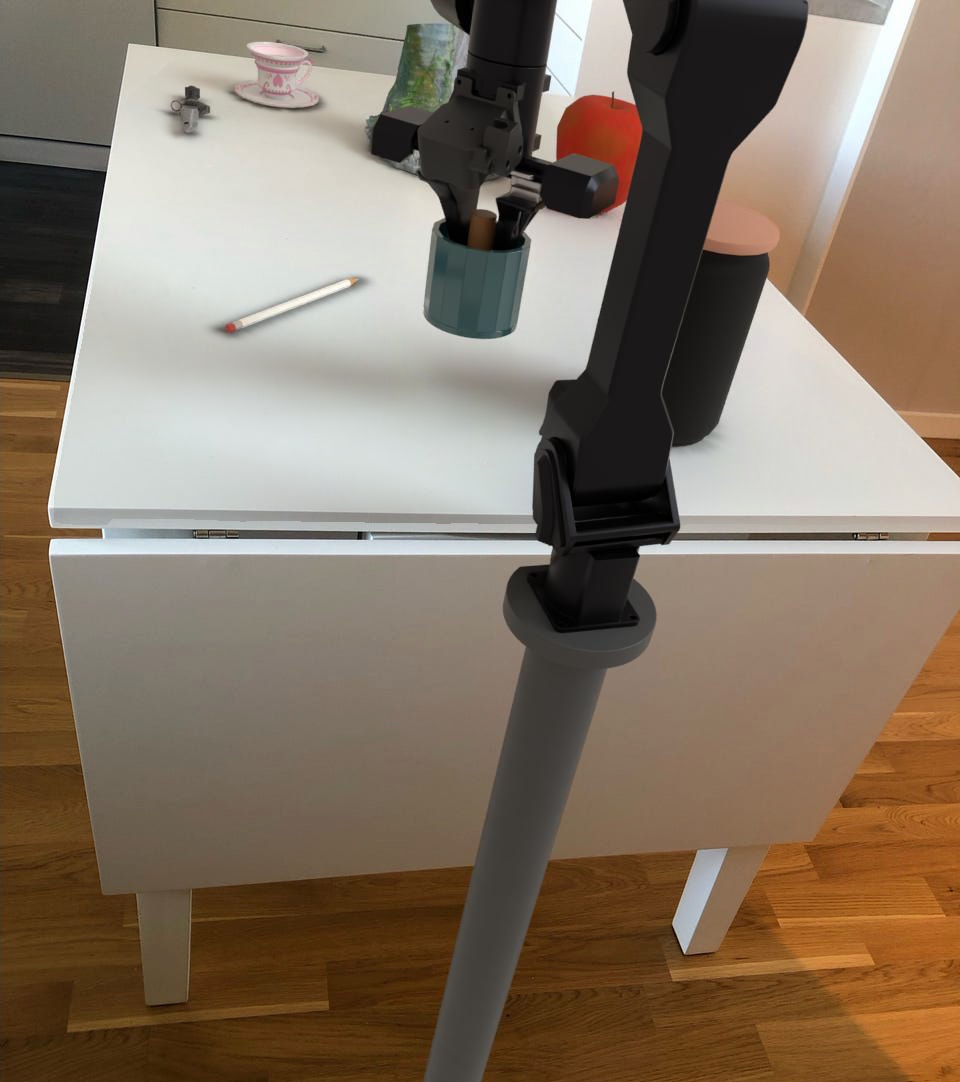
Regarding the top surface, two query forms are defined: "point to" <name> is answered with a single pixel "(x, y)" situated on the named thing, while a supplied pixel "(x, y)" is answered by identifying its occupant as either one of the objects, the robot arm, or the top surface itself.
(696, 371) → the coffee jar
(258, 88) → the teacup
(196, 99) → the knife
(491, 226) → the tan wooden dowel
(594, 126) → the apple
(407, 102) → the tree stump
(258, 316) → the pencil
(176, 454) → the top surface
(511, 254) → the teal cup
